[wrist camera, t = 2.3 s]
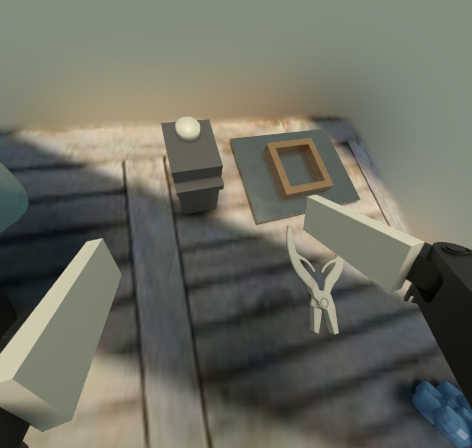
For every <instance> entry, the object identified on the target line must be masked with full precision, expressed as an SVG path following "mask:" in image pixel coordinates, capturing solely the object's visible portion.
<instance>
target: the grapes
mask: <svg viewBox="0 0 472 448" xmlns="http://www.w3.org/2000/svg"><path fill="white" fill-rule="evenodd" d="M415 392H416V393H415V394H414V395H413V398H412V401H413V404H414V406H415V408H416V409H417V410H418V412H419V413H420V414H421V415H422V416H423V417H424V418H425V419H427V420H428V421H429V422H430V423H431V424H432V425H436V427H437V428H438V430H439V431H440V432H441V433H442V434H443V435H444V436H445V437H446V438H447V439H448V440H449V441H450V442H452V443H453V444H454V445H455V446H456V447H457V448H465V447H469V446H470V448H472V409H471V407H470V405H469V404H468V402H467V400H466V398H465V396H464V394H462V393H461V392H460V391H459V390H458V389H457V388H455V387H454V386H453V385H452V384H450V383H449V382H448V381H446V382H443V383H441V384H439V385H438V386H437V387H436V388H435V387H434V386H433V385H431V384H430V383H429V382H427V381H424V382H422V383H420V384H418V385H417V386H416V389H415Z"/></svg>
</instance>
